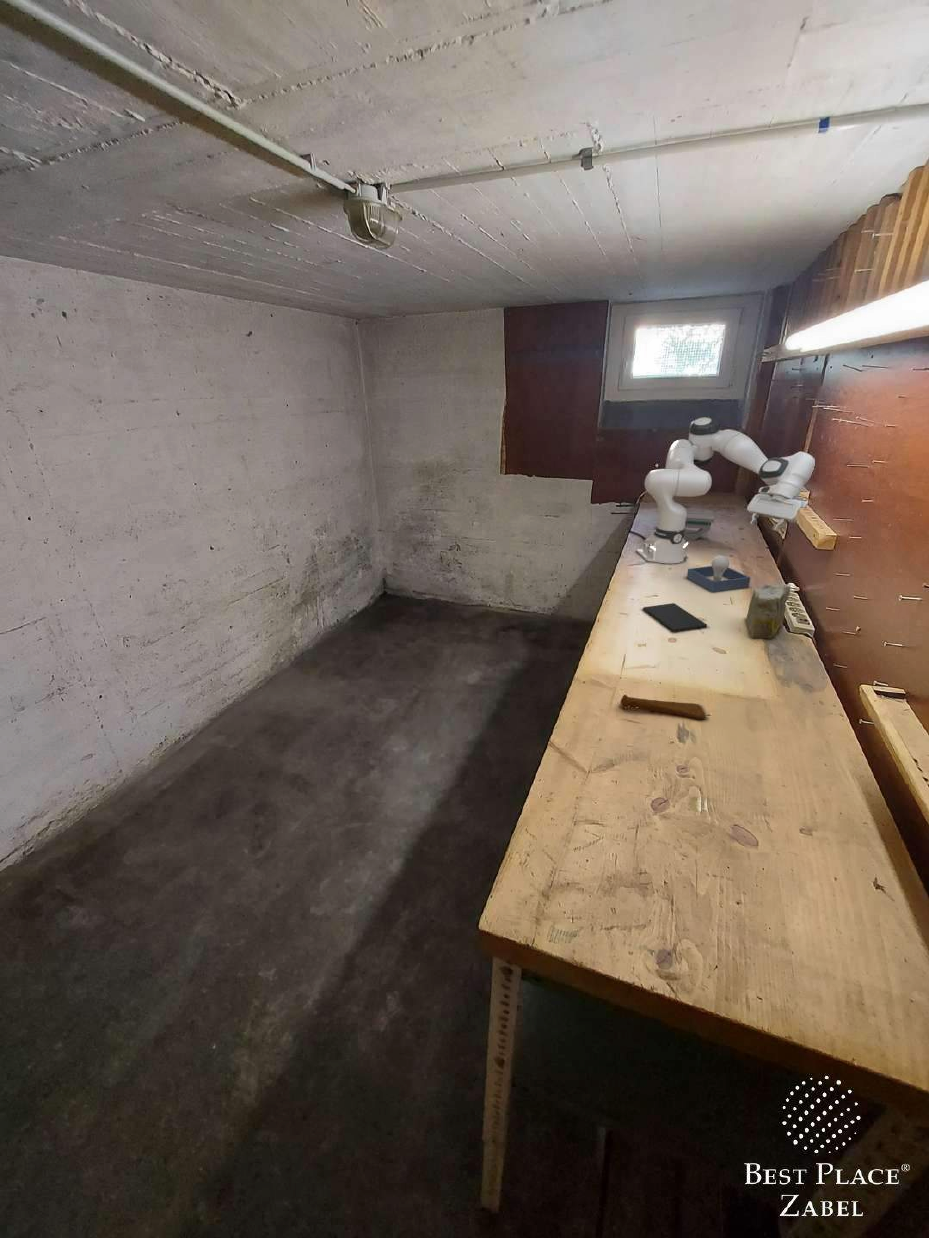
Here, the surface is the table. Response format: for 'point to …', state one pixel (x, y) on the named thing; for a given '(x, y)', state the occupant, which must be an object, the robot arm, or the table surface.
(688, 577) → the blue square tray
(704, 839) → the table surface
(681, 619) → the mat
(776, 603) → the stone block
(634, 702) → the primitive tool
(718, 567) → the lightbulb
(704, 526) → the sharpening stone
